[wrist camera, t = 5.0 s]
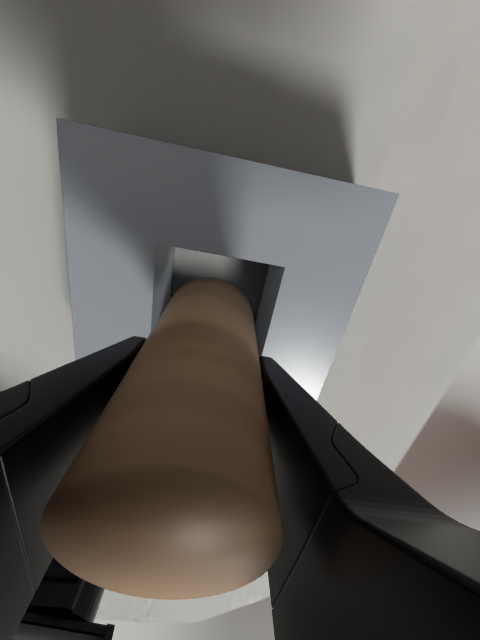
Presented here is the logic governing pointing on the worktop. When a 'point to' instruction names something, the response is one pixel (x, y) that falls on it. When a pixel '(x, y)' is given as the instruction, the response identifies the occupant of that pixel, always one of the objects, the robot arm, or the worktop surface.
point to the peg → (176, 462)
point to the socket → (212, 240)
